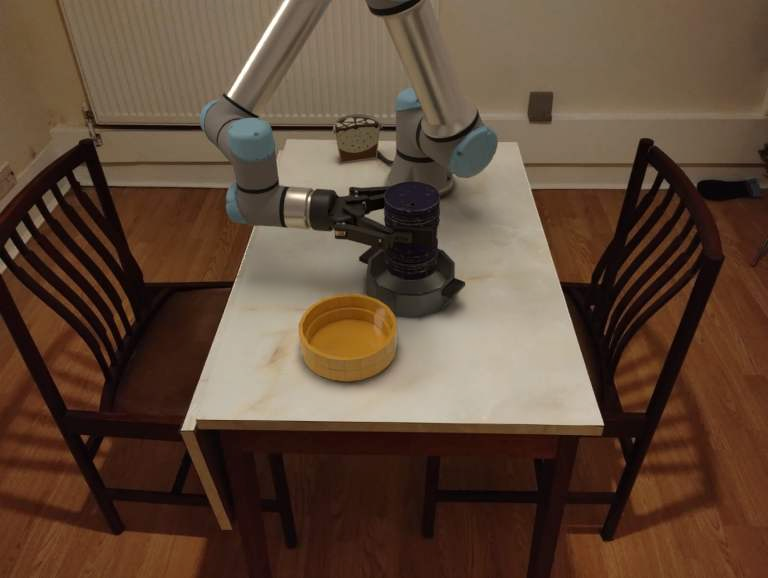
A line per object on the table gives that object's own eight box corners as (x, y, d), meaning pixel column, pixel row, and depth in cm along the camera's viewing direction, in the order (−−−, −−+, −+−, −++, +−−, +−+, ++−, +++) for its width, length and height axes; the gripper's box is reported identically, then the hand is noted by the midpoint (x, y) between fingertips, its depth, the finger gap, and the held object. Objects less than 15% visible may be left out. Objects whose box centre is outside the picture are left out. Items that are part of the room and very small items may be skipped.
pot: (341, 291, 127) (340, 271, 124) (389, 249, 138) (389, 229, 135) (434, 333, 118) (435, 312, 115) (478, 285, 128) (480, 264, 125)
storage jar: (384, 249, 128) (383, 181, 119) (435, 248, 128) (438, 180, 119) (384, 281, 120) (383, 211, 111) (439, 281, 120) (442, 211, 111)
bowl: (288, 333, 118) (285, 310, 115) (372, 307, 124) (371, 284, 120) (321, 396, 107) (319, 372, 103) (412, 364, 112) (413, 340, 109)
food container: (376, 146, 173) (375, 110, 167) (382, 157, 169) (382, 120, 162) (330, 152, 171) (327, 116, 164) (335, 164, 166) (332, 126, 160)
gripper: (328, 194, 131) (441, 203, 128) (298, 263, 114) (427, 275, 111) (326, 160, 126) (443, 169, 123) (293, 226, 109) (428, 238, 106)
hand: (435, 219), depth 117 cm, fingers closed on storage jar, 10 cm apart
